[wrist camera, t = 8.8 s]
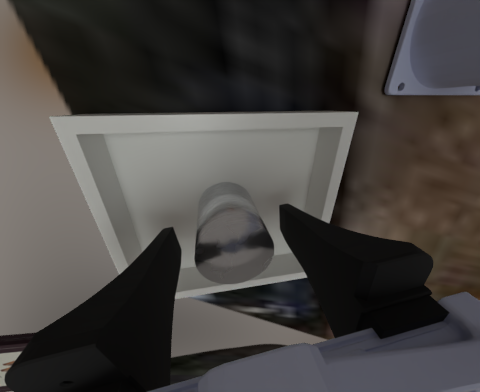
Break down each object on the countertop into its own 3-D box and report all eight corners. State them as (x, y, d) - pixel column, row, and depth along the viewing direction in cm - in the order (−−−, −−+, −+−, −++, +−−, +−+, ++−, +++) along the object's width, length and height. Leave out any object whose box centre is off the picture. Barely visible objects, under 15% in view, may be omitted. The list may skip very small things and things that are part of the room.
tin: (249, 177, 14) (272, 214, 9) (254, 223, 16) (275, 274, 11) (191, 187, 14) (184, 233, 9) (204, 233, 16) (204, 291, 11)
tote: (328, 110, 13) (358, 112, 11) (300, 253, 20) (315, 275, 17) (86, 114, 11) (48, 116, 8) (143, 275, 17) (132, 306, 15)
